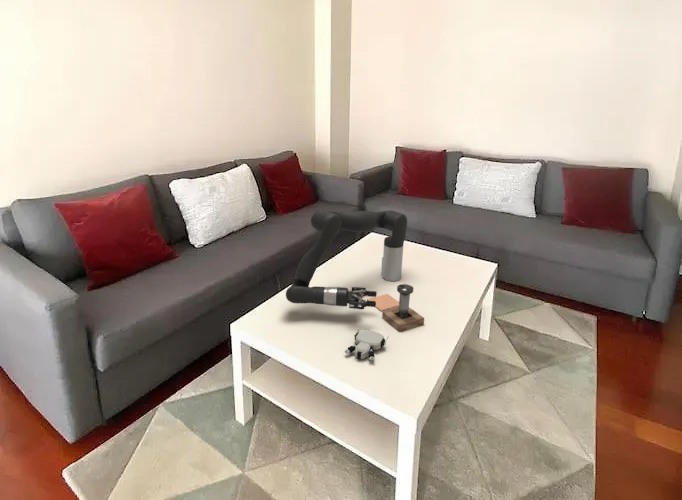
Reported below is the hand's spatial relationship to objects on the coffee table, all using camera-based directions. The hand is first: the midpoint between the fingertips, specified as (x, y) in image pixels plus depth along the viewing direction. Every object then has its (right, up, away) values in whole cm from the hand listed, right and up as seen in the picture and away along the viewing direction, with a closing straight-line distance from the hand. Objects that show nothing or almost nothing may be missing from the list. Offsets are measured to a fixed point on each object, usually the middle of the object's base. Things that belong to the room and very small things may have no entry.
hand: (376, 299), depth 185 cm
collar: (+11, -9, +3) cm, 15 cm away
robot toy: (-5, -17, -16) cm, 24 cm away
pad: (+5, -4, +16) cm, 18 cm away
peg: (+11, -9, +3) cm, 15 cm away
